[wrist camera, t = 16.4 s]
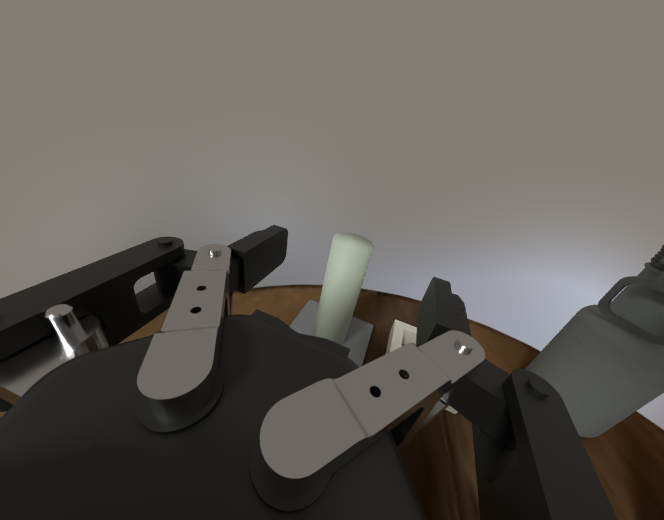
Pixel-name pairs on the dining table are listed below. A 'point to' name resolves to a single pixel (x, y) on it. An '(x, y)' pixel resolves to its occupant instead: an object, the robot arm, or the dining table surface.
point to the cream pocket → (404, 341)
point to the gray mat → (354, 338)
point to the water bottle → (610, 353)
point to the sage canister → (342, 285)
